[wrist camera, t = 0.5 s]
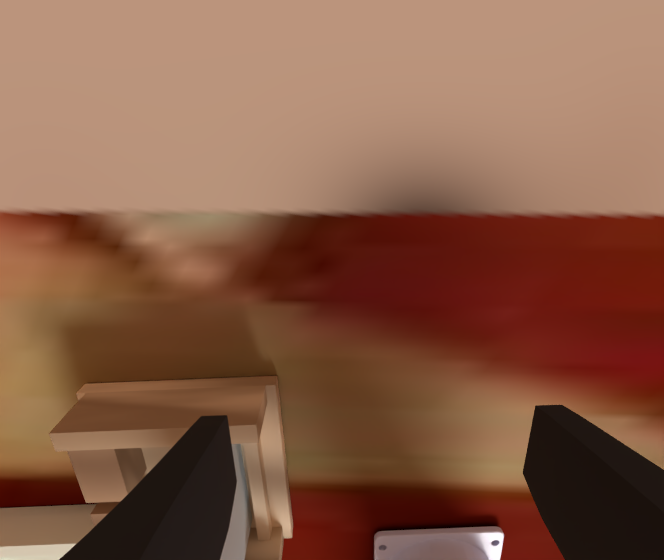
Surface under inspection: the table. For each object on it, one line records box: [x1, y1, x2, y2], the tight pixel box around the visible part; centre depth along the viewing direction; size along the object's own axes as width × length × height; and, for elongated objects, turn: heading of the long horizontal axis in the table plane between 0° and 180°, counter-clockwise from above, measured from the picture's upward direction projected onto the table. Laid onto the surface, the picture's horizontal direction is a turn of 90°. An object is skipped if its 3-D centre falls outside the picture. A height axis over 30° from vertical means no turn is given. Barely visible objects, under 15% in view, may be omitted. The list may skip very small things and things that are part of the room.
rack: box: [49, 376, 293, 560], centre depth 21 cm, size 11×10×4 cm
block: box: [220, 444, 252, 560], centre depth 19 cm, size 8×2×6 cm, turn 2°
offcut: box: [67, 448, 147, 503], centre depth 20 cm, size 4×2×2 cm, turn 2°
